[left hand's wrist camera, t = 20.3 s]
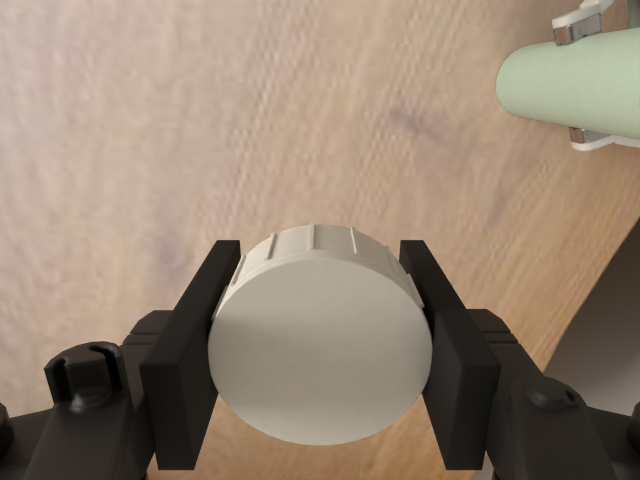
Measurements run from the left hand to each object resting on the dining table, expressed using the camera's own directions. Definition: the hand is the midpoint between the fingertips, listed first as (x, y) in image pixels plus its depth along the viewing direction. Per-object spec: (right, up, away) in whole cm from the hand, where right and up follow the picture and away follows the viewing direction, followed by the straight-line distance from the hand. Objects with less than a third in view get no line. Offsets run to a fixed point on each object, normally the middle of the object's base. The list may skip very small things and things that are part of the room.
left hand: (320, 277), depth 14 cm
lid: (0, -1, -4) cm, 4 cm away
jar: (+16, +13, +17) cm, 26 cm away
